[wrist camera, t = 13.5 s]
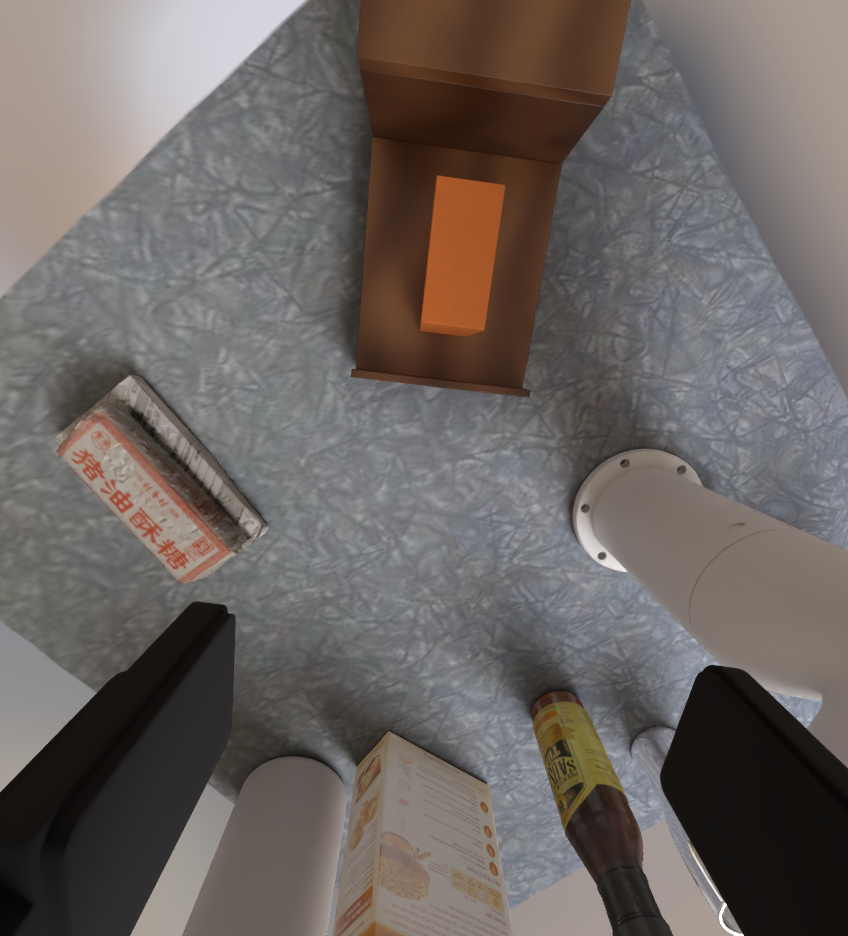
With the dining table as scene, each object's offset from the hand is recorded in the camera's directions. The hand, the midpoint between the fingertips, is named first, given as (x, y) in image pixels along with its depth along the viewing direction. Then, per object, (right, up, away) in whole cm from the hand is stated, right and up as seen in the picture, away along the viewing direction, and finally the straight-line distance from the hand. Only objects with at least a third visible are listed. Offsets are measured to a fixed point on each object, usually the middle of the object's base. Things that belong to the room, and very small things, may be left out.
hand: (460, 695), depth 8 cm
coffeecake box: (-1, -32, +41) cm, 52 cm away
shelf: (+2, +23, +26) cm, 35 cm away
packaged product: (-25, +3, +31) cm, 40 cm away
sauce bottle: (+14, -23, +39) cm, 47 cm away
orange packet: (+1, +19, +24) cm, 31 cm away
